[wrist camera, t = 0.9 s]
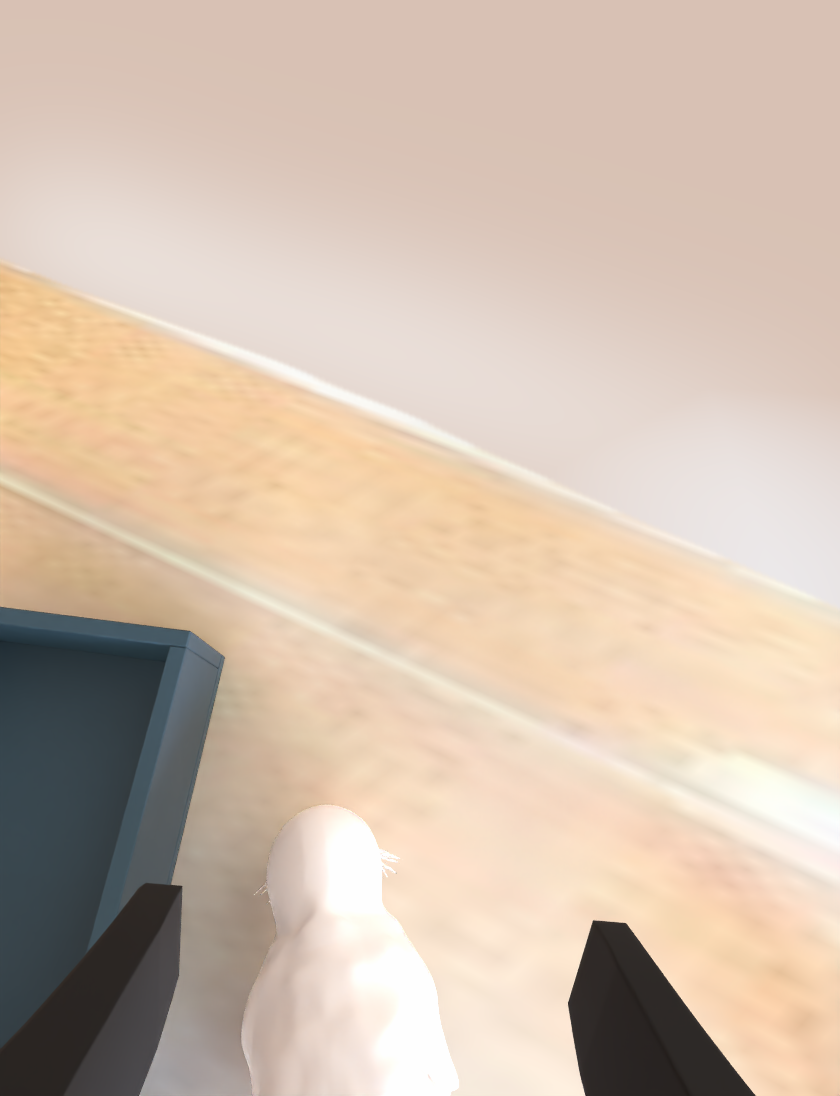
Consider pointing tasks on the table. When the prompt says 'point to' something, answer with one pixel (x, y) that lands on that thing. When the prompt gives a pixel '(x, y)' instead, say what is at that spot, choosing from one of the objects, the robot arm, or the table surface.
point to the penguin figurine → (340, 975)
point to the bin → (88, 783)
